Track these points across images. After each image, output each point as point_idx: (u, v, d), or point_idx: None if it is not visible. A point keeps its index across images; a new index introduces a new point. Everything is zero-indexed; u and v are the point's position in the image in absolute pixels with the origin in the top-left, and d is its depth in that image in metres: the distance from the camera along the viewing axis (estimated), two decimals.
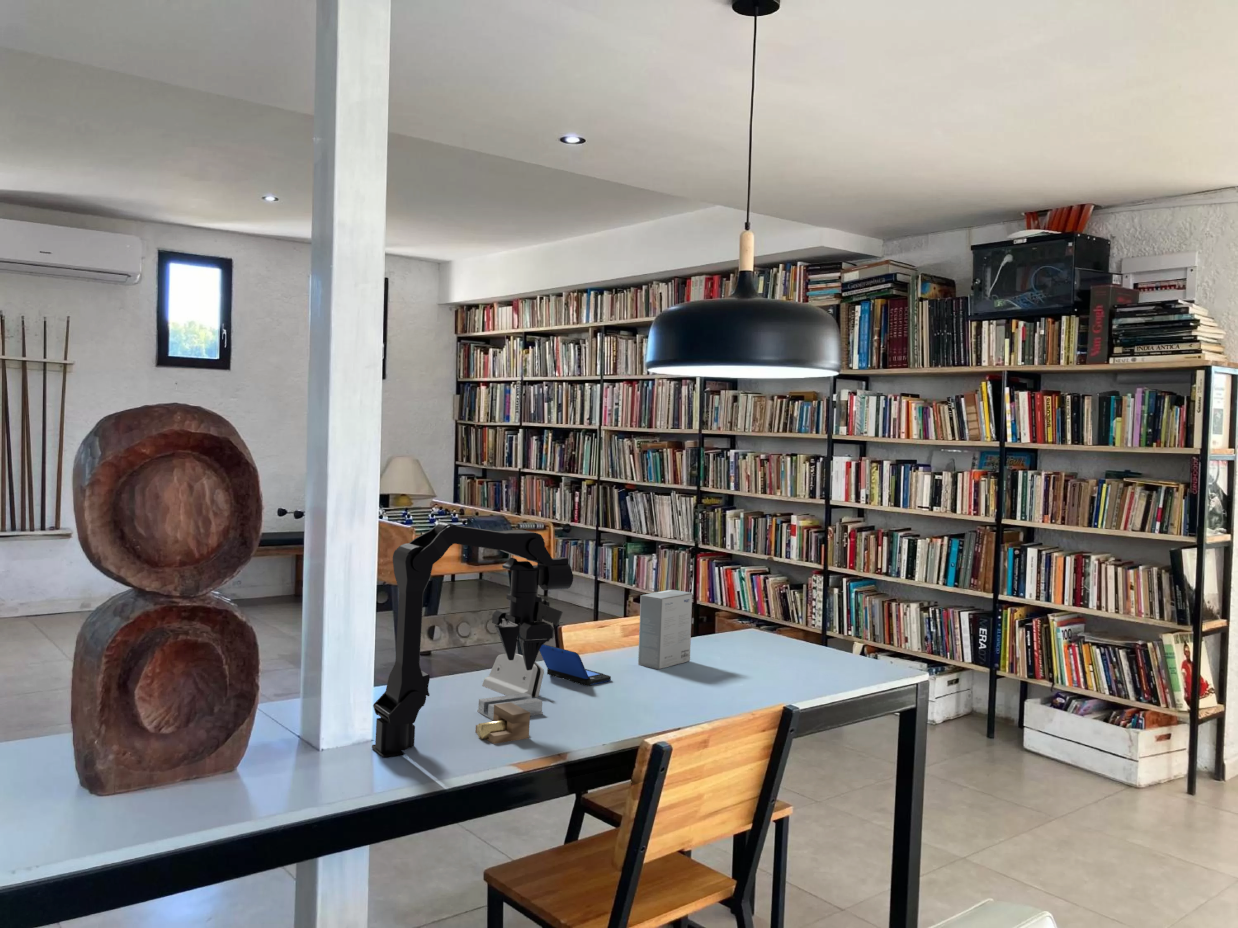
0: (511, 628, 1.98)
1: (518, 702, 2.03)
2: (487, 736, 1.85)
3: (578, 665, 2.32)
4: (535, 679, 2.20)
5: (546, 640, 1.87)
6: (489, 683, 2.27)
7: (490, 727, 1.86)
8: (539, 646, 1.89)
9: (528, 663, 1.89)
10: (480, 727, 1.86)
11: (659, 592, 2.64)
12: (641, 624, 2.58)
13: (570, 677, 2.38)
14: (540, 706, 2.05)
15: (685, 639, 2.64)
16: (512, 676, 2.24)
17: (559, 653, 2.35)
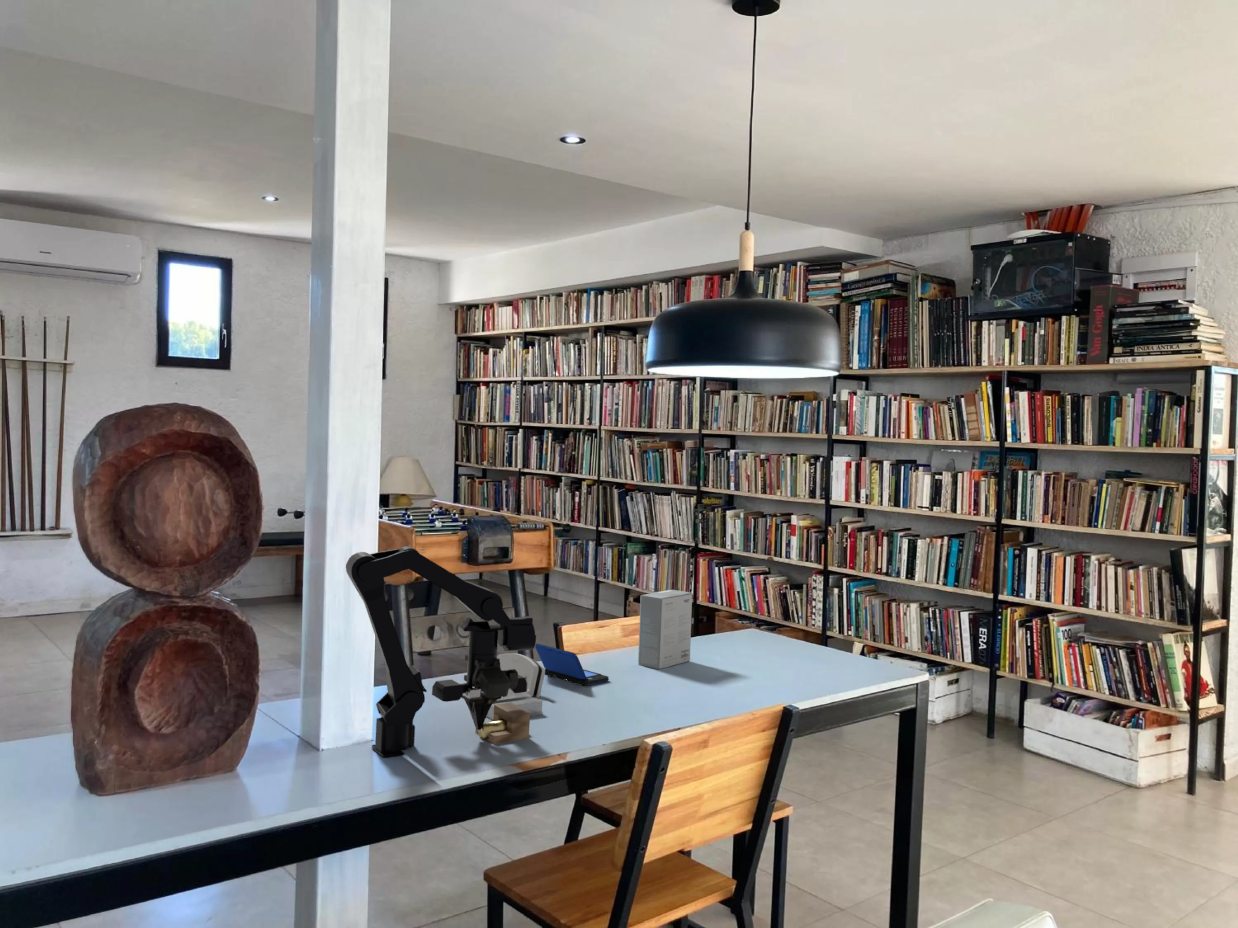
0: (482, 695, 1.86)
1: (518, 702, 2.03)
2: (488, 736, 1.86)
3: (576, 665, 2.32)
4: (536, 679, 2.21)
5: (468, 700, 1.82)
6: None
7: (492, 727, 1.86)
8: (473, 706, 1.83)
9: (474, 721, 1.85)
10: None
11: (659, 592, 2.64)
12: (641, 624, 2.59)
13: (568, 677, 2.37)
14: (540, 706, 2.05)
15: (685, 639, 2.64)
16: None
17: (557, 653, 2.34)
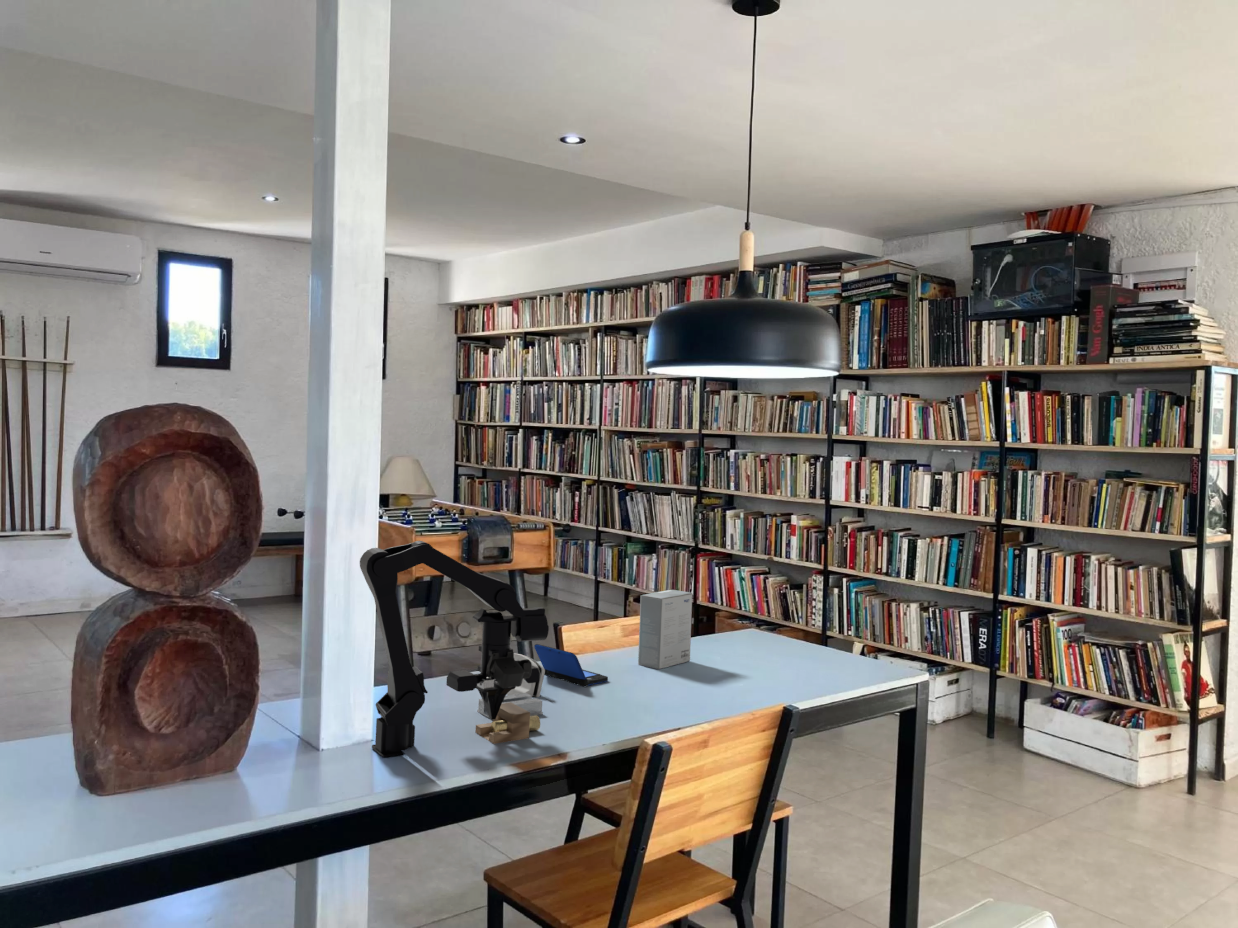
0: (496, 685, 1.87)
1: (518, 702, 2.03)
2: None
3: (575, 666, 2.31)
4: None
5: (482, 690, 1.83)
6: None
7: (504, 725, 1.87)
8: None
9: (487, 711, 1.87)
10: (494, 725, 1.87)
11: (659, 592, 2.64)
12: (641, 624, 2.58)
13: (567, 678, 2.37)
14: (540, 706, 2.05)
15: (685, 639, 2.64)
16: None
17: (556, 654, 2.34)
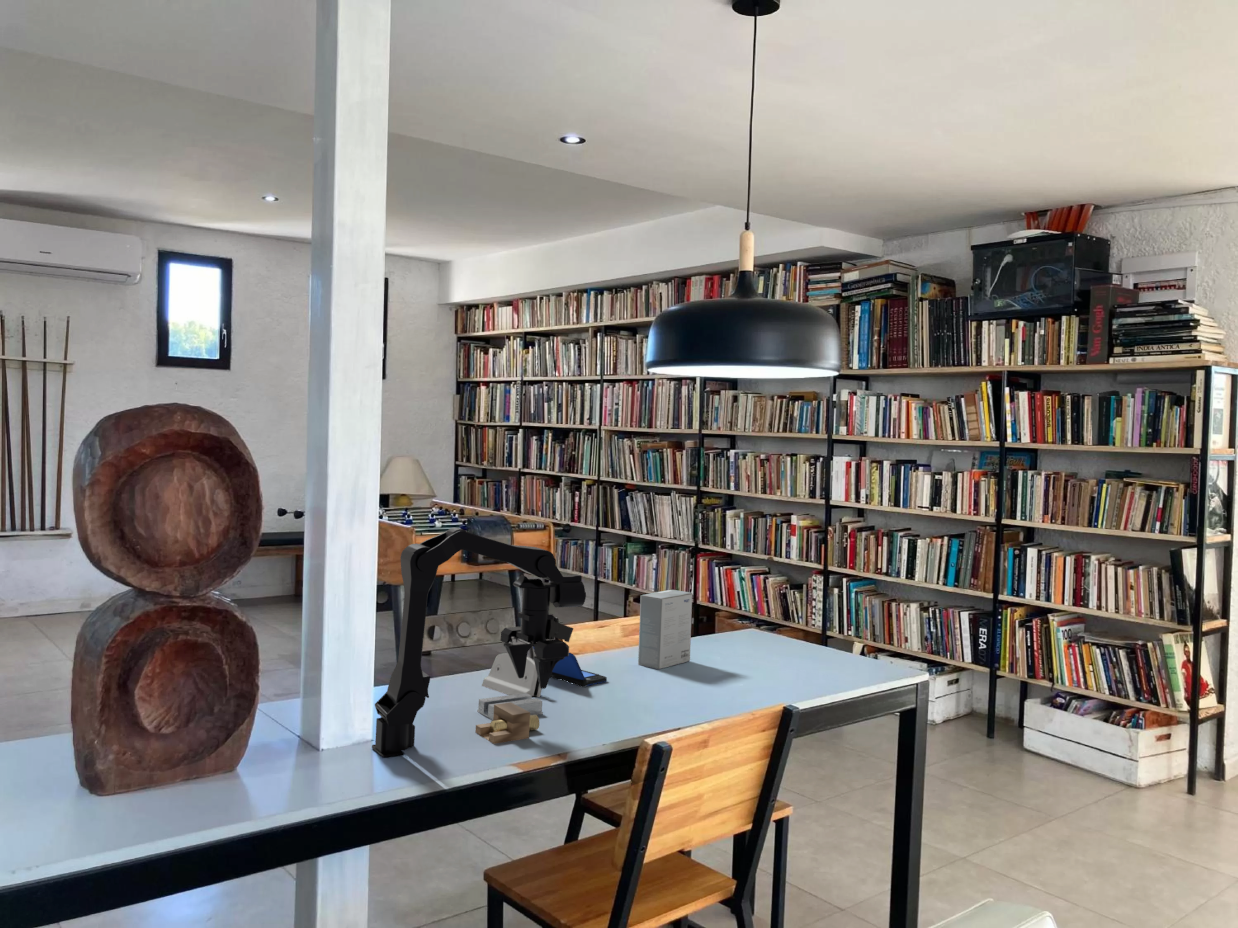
0: (521, 646, 1.96)
1: (518, 702, 2.03)
2: None
3: (574, 666, 2.31)
4: (537, 678, 2.21)
5: (561, 658, 1.87)
6: (489, 683, 2.27)
7: (503, 723, 1.88)
8: (553, 664, 1.88)
9: (542, 682, 1.88)
10: (492, 724, 1.88)
11: (659, 592, 2.64)
12: (641, 624, 2.58)
13: (566, 678, 2.36)
14: (540, 706, 2.05)
15: (685, 639, 2.64)
16: (513, 676, 2.24)
17: None
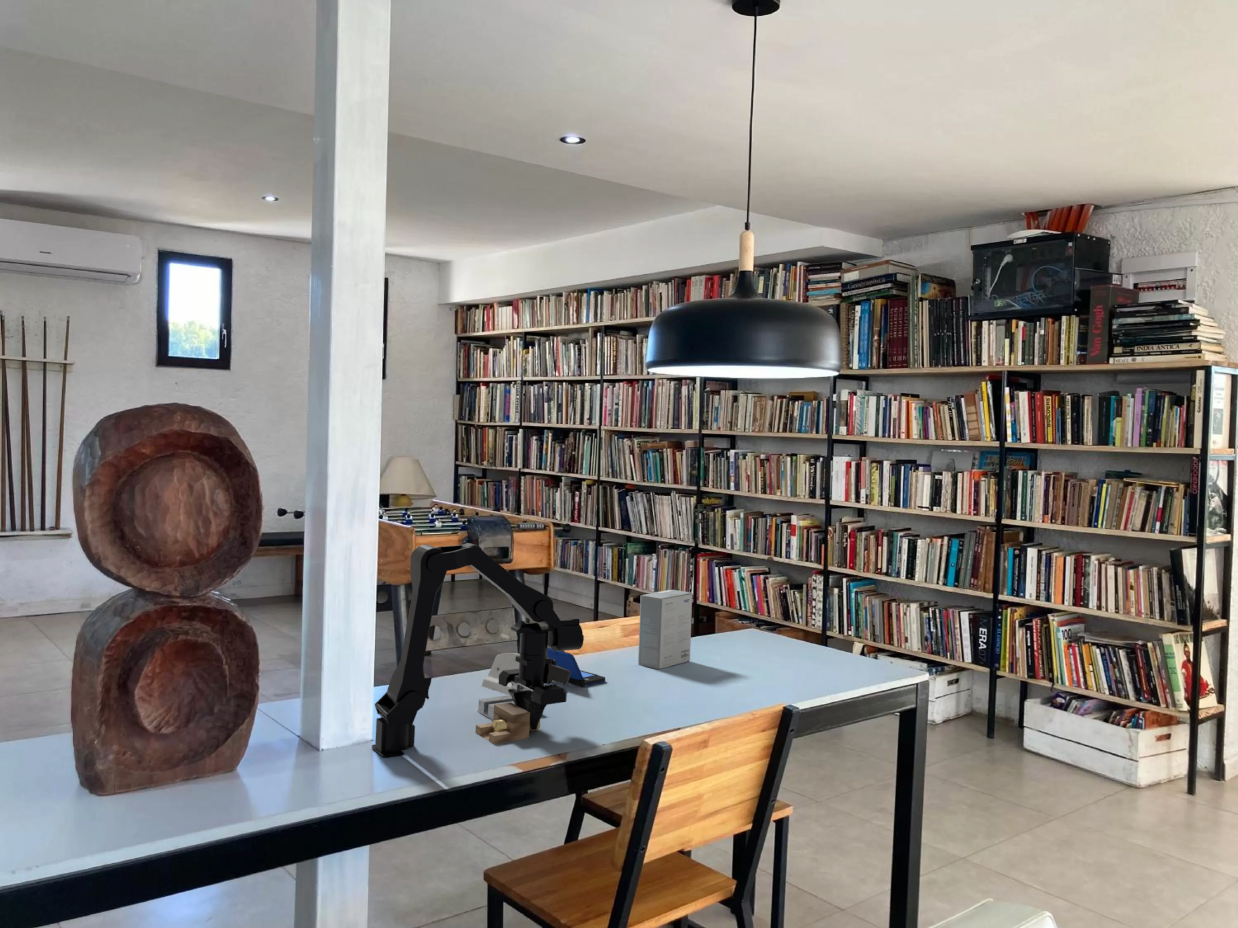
0: (525, 692, 1.94)
1: None
2: None
3: (573, 666, 2.31)
4: None
5: None
6: (489, 683, 2.27)
7: (504, 724, 1.88)
8: (544, 705, 1.90)
9: (533, 723, 1.90)
10: (494, 724, 1.88)
11: (659, 592, 2.64)
12: (641, 624, 2.59)
13: None
14: None
15: (685, 639, 2.64)
16: None
17: (553, 654, 2.34)
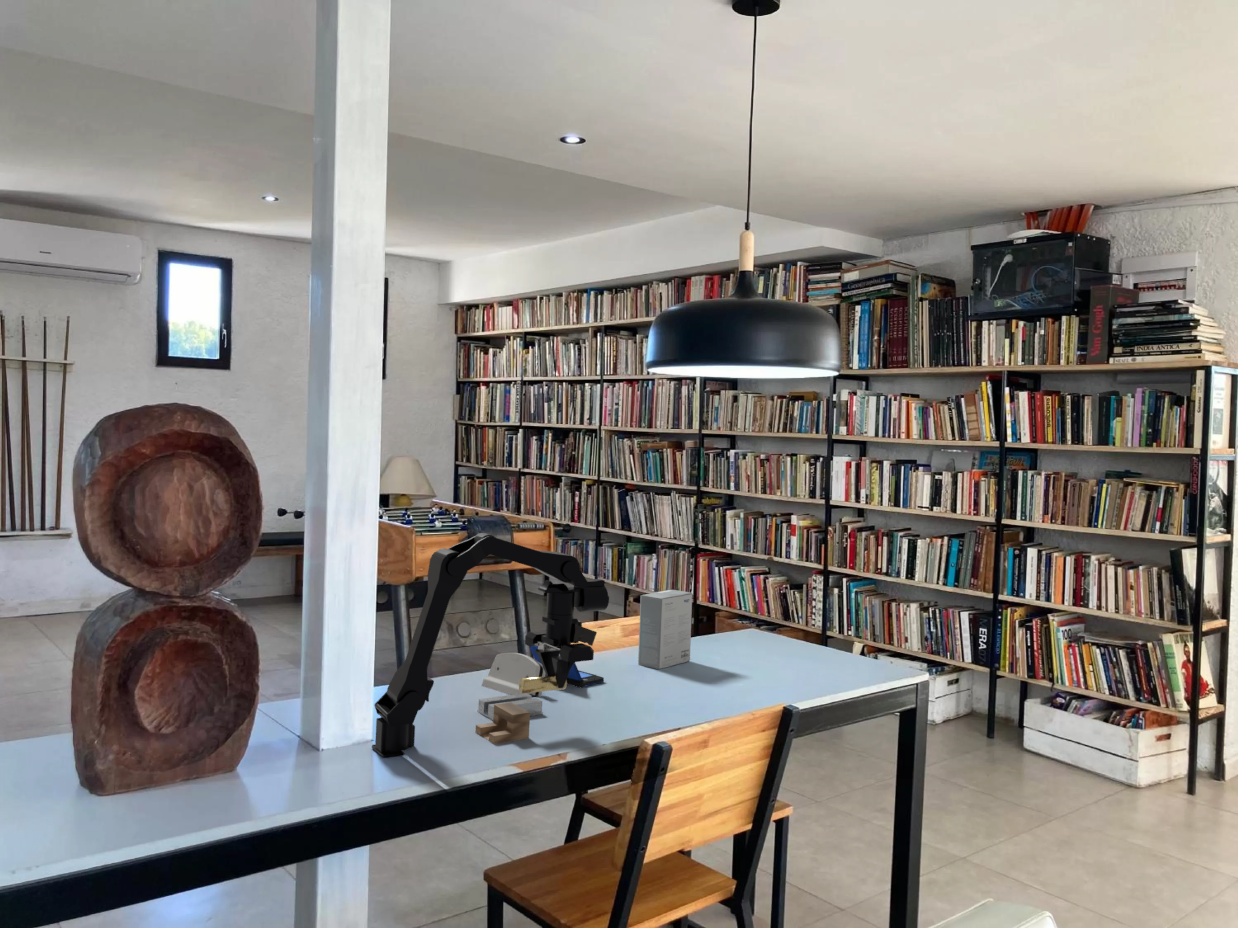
0: (552, 652, 1.97)
1: (518, 702, 2.03)
2: (529, 691, 1.91)
3: None
4: None
5: None
6: (489, 682, 2.27)
7: (532, 682, 1.91)
8: (571, 664, 1.94)
9: (560, 681, 1.94)
10: (522, 682, 1.91)
11: (659, 592, 2.64)
12: (641, 624, 2.58)
13: None
14: (540, 706, 2.05)
15: (685, 639, 2.64)
16: (513, 675, 2.25)
17: None
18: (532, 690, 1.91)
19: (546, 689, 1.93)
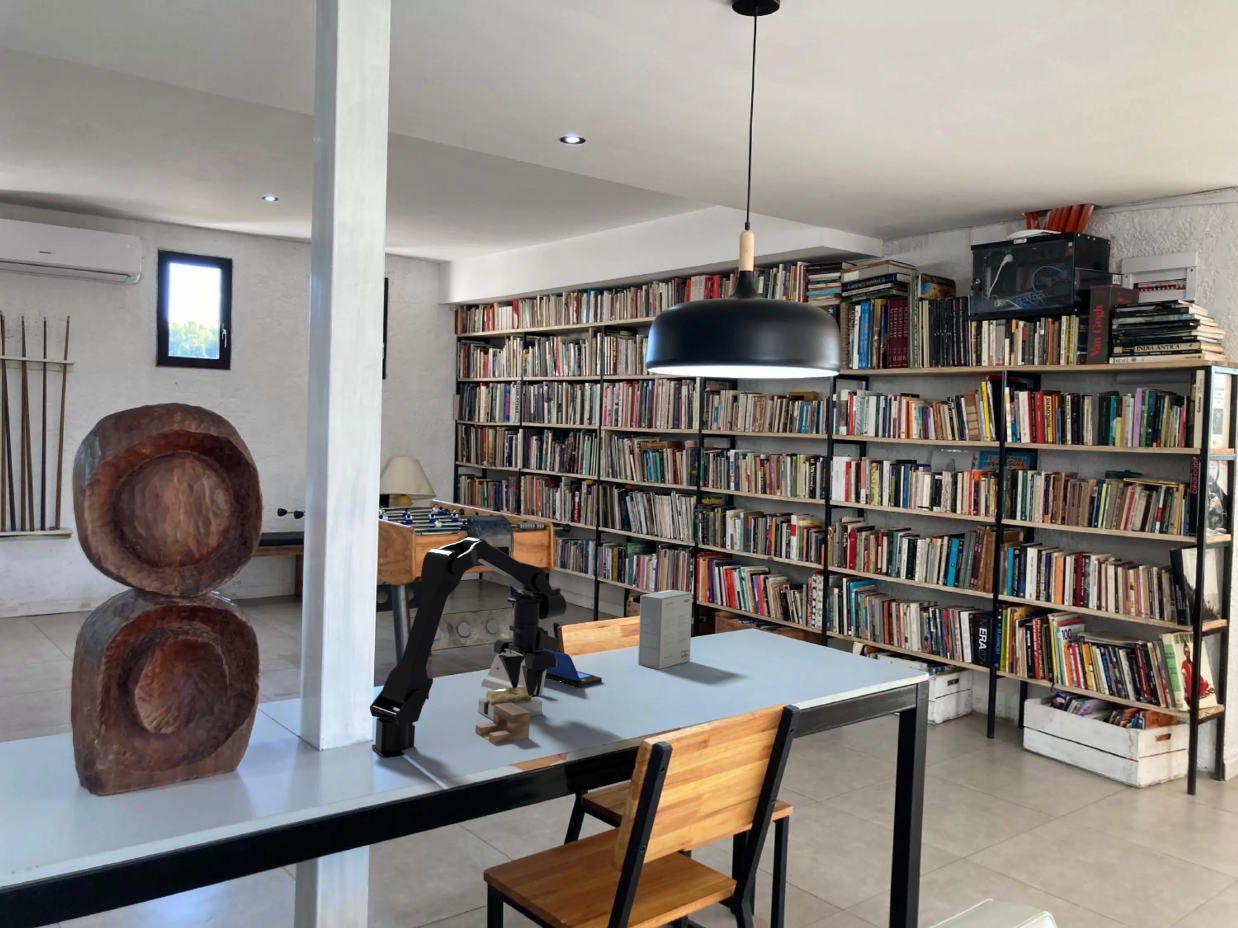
0: (515, 657, 2.09)
1: (518, 702, 2.03)
2: (496, 702, 2.01)
3: (569, 667, 2.30)
4: None
5: (547, 667, 2.01)
6: (489, 682, 2.27)
7: (498, 693, 2.01)
8: (540, 673, 2.02)
9: (530, 689, 2.02)
10: (489, 694, 2.01)
11: (659, 592, 2.64)
12: (641, 624, 2.58)
13: (561, 679, 2.35)
14: (540, 706, 2.05)
15: (685, 639, 2.64)
16: None
17: None
18: (499, 701, 2.01)
19: (513, 700, 2.03)
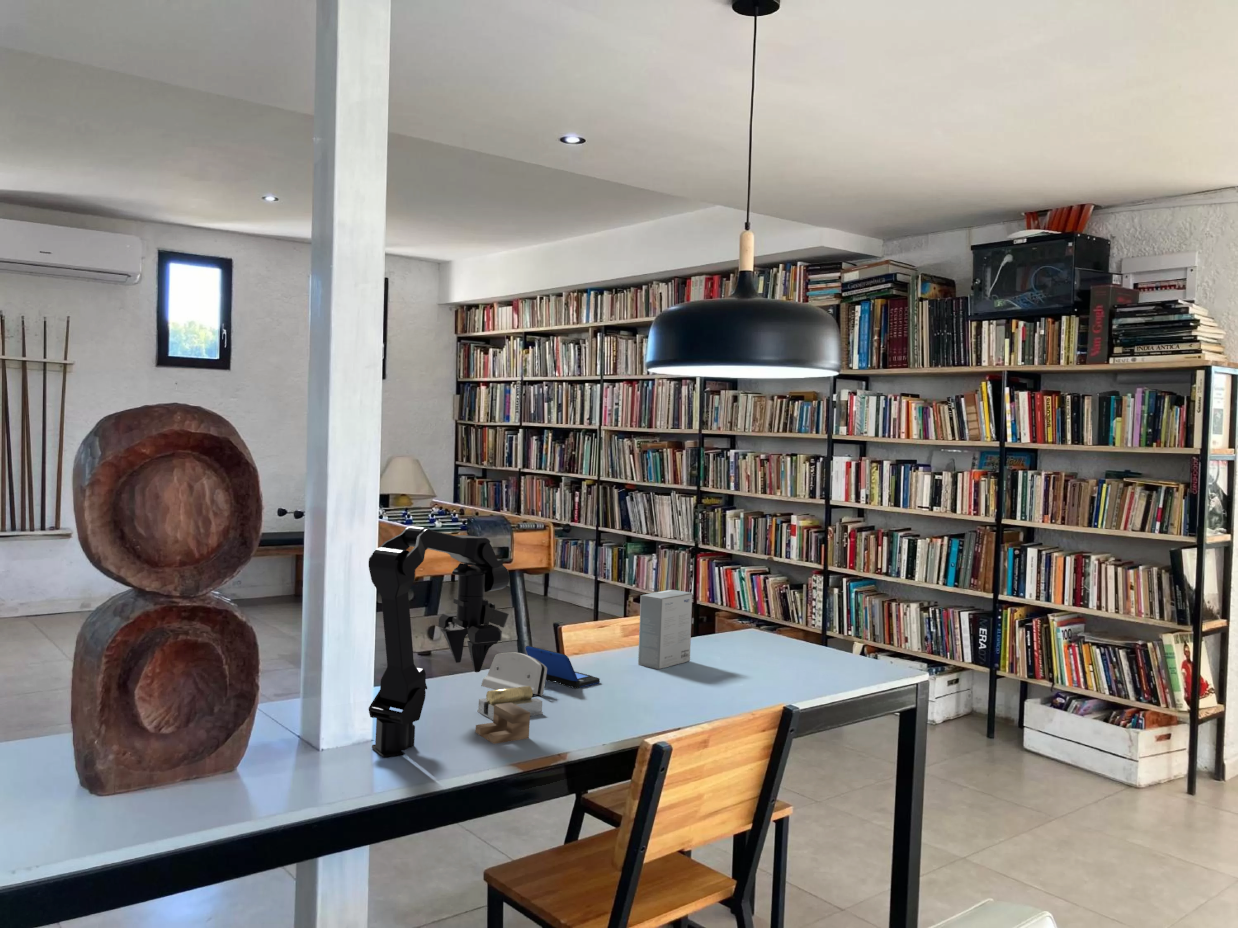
0: (458, 631, 2.02)
1: (518, 702, 2.03)
2: (496, 702, 2.01)
3: (567, 667, 2.29)
4: (540, 677, 2.23)
5: (494, 642, 1.92)
6: (489, 682, 2.27)
7: (499, 693, 2.01)
8: (487, 648, 1.93)
9: (476, 665, 1.93)
10: (489, 694, 2.01)
11: (659, 592, 2.64)
12: (641, 624, 2.58)
13: (559, 679, 2.35)
14: (540, 706, 2.05)
15: (685, 639, 2.64)
16: (514, 675, 2.25)
17: (548, 655, 2.32)
18: (499, 701, 2.01)
19: (513, 700, 2.03)
